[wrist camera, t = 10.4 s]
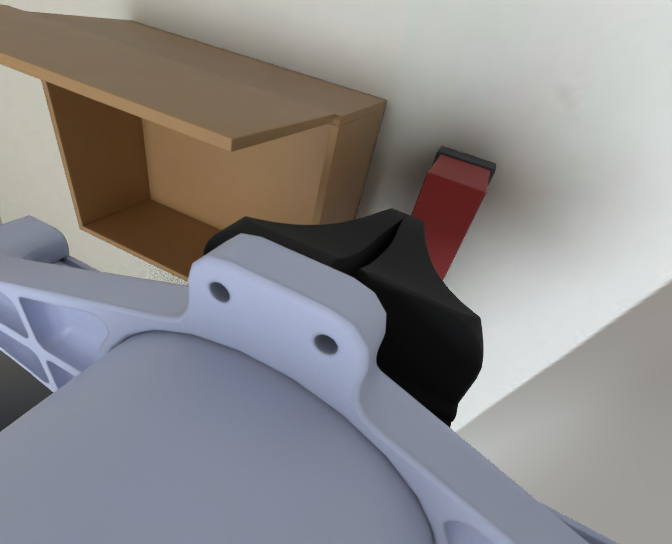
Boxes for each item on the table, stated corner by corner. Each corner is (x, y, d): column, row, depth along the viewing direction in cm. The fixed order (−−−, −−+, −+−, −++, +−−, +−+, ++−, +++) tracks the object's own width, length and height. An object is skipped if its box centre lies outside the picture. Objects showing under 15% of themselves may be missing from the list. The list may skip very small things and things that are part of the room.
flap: (-194, -10, 12) (-200, -23, 12) (9, 14, 17) (7, 5, 17) (231, 152, 9) (231, 138, 8) (332, 123, 14) (334, 113, 13)
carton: (151, 200, 30) (79, 229, 25) (131, 20, 23) (22, 10, 18) (337, 282, 26) (296, 335, 21) (386, 100, 19) (341, 116, 14)
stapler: (428, 304, 24) (412, 349, 20) (387, 286, 25) (365, 328, 21) (496, 163, 18) (492, 191, 15) (441, 145, 19) (423, 168, 15)
